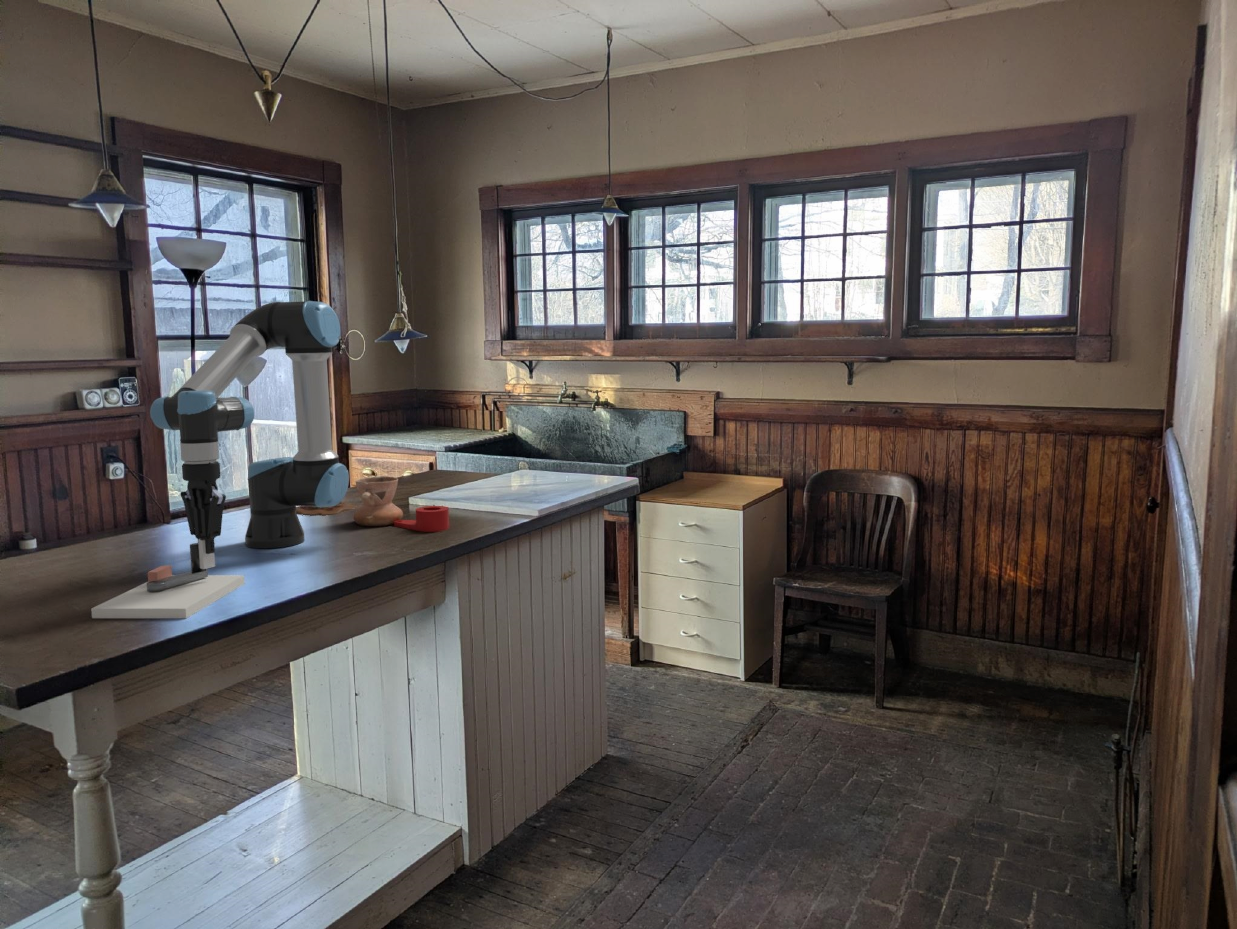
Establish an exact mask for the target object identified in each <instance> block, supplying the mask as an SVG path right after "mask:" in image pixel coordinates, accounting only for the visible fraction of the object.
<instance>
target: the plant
mask: <svg viewBox="0 0 1237 929" xmlns="http://www.w3.org/2000/svg"><path fill="white" fill-rule="evenodd" d="M352 509H354V510H356V509H358V505H357V504H355V505H354V504H350V503H347V502H343V501H341V502H340V503H339V504H337V505H336V506H333V507H322V508H319V507H312V506H296V513H297V515H301V514H303V515H310V516H309V517H314V516H321V515H322V517H327V516H326V515H328V516H334V515H338V514H341V513H345V512H348V511H352ZM344 511H345V512H344ZM303 515H302V516H303Z"/></svg>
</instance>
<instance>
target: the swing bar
mask: <svg viewBox="0 0 1237 929" xmlns="http://www.w3.org/2000/svg"><path fill="white" fill-rule="evenodd" d="M189 553H190V554H189V555H190V566H191V568H190V569H191V570H189V571H185V572H182V573H178V574H173V575H174V576H170V577H167V578H163V579H159V580H156V581H151V582H148V581H147V582H148V583H147V591H149V592H155V591H161V590H165V589H167V588H170V587H174V586H177V585H181V584H184V583H188V582H191V581H195V580H198V579H202V578H205V577H208V575H209V571H208V569H201V568H200V559H199V550H198V542H194V543H190V544H189Z"/></svg>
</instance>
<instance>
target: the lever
mask: <svg viewBox="0 0 1237 929" xmlns="http://www.w3.org/2000/svg"><path fill="white" fill-rule="evenodd" d="M449 513H450V509H449V507H448V506H445V505H444V506H443V505H431V506H430V505H429V506H428V505H427V506H421V507H417V508H415V519H401V520H397V521H394V524H393V527H398V528H401V529H402V528H403V529H407V530H413V531H418V532H423V533H435V532H436V533H437V532H442V531H447V530H449V529H450V514H449Z"/></svg>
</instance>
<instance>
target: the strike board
mask: <svg viewBox="0 0 1237 929" xmlns="http://www.w3.org/2000/svg"><path fill="white" fill-rule="evenodd" d="M172 571H173V570H172V565H160V566H159V567H156V568H154V569H151V570H149V571H148V572H147V580H148V581H146V582H144V583H142V584H140V585H137V586H136V587H134V588H132V589H129V590H127V591H126V592H123V593H121V594H119V595H116V596H115V597H112V598H110V599H109V600H106V601H104V602H102V603H100V604H98V605H96V606H94V607H92V608H91V607H90V609H91V619H188V618H190V617H191V616H193V615H195V614H197V613H198V612H199V611H201V610H203V609H204V608H206V607H208V606H210V605H211V604H213V603H214V602H217V601H218V600H220V599H222V598H223V597H225V596H227V595H228V594H230V593H232V592H234V591H235V590H237V589H238V588H240V587H242V586H244V585H245V584H246V582H245V580H246V579H245V575H243V574H232V575H231V574H227V575H226V574H221V575H220V574H208V577H205V578H202V579H198V580H195V581H191V582H188V583H184V584H181V585H177V586H174V587H170V588H167V589H165V590H161V591H155V592H149V591H147V583H148V582H151V581H156V580H159V579H163V578H167V577H170V576H174V575H175V574H173V573H172Z"/></svg>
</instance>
